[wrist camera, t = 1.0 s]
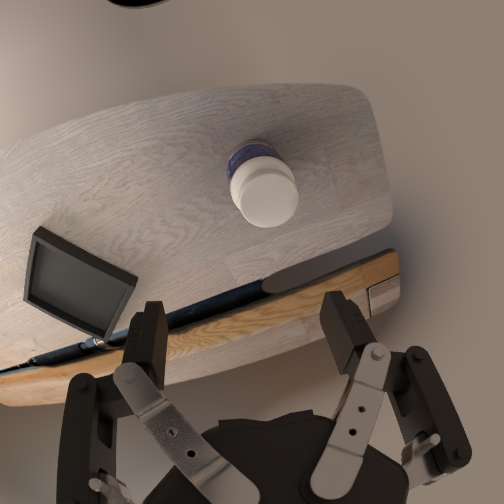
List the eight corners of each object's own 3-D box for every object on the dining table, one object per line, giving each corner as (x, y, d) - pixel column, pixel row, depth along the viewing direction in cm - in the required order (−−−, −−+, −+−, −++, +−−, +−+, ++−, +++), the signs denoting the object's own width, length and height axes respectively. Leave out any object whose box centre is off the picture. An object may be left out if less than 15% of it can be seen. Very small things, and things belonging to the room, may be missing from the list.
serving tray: (28, 292, 35) (23, 300, 33) (39, 225, 30) (32, 233, 28) (109, 333, 41) (107, 343, 40) (138, 277, 36) (135, 287, 34)
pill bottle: (215, 164, 30) (216, 201, 21) (255, 128, 28) (274, 150, 20) (250, 199, 32) (265, 246, 24) (289, 166, 31) (319, 203, 23)
